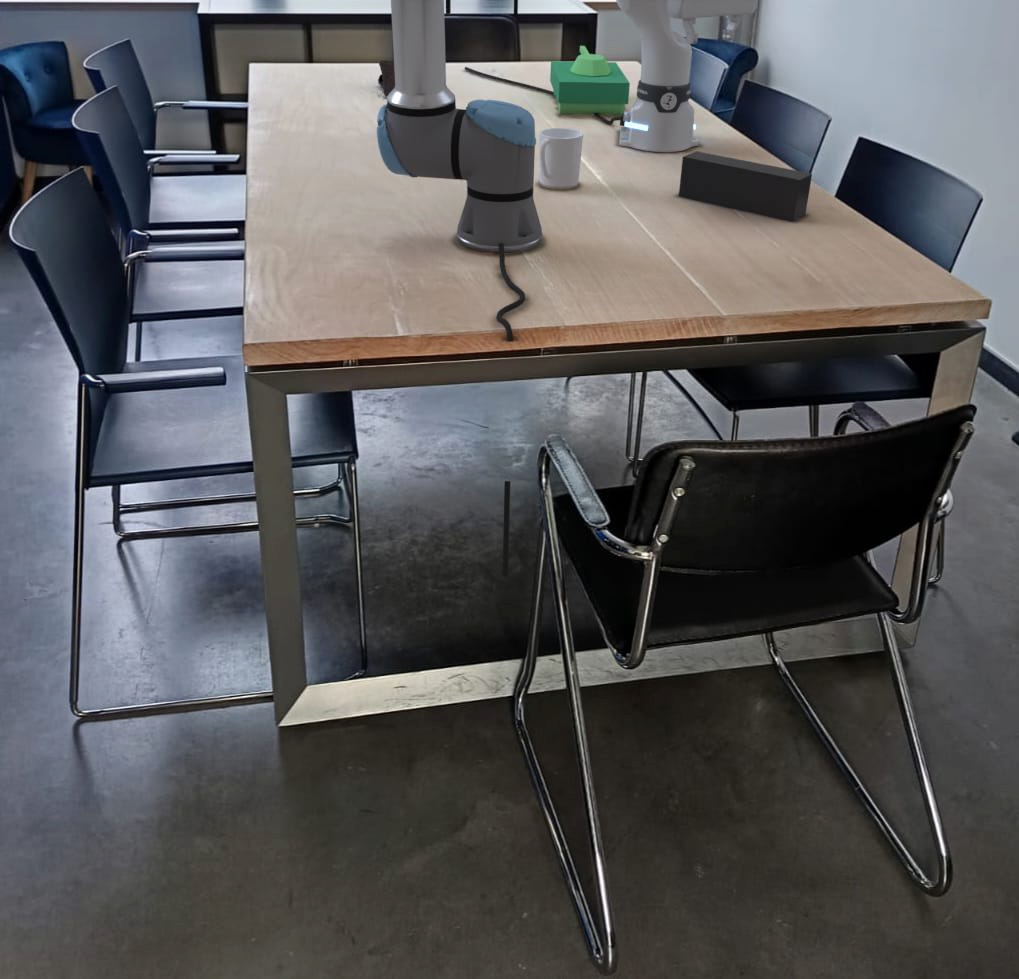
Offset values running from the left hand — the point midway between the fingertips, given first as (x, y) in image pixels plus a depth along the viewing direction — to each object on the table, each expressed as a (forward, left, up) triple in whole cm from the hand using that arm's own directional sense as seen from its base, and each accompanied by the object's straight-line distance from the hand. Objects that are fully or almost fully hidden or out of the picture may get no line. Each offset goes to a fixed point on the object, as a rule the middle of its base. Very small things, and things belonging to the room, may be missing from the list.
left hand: (481, 14), depth 220 cm
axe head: (+72, +32, -31) cm, 85 cm away
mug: (-11, -17, -31) cm, 37 cm away
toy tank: (+68, -18, -31) cm, 77 cm away
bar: (-17, -55, -31) cm, 65 cm away
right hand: (-9, -46, -2) cm, 46 cm away
